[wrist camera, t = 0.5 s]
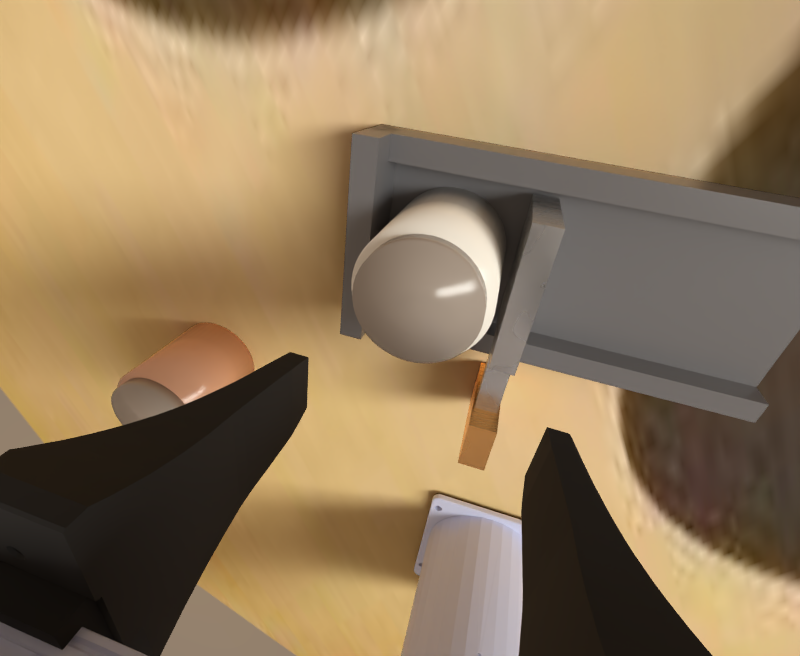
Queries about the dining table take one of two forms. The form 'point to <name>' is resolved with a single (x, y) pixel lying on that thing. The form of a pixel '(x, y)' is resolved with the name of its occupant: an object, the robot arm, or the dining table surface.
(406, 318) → the cream jar
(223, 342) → the terracotta jar
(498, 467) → the dining table surface
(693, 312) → the lane
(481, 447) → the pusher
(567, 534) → the robot arm
